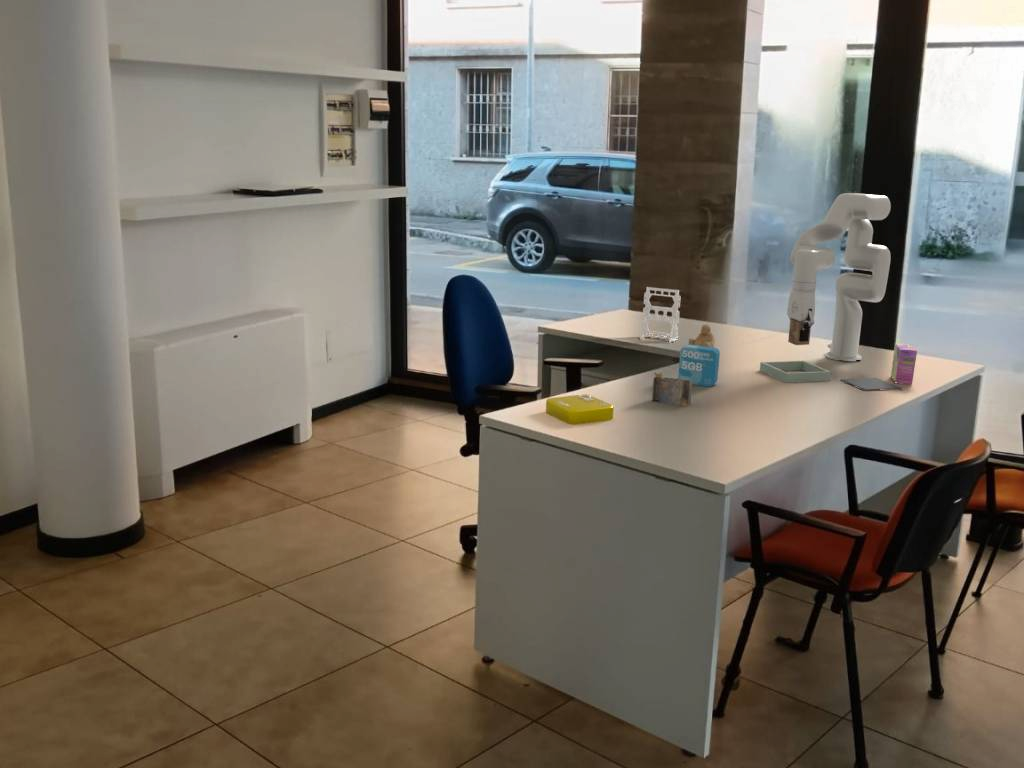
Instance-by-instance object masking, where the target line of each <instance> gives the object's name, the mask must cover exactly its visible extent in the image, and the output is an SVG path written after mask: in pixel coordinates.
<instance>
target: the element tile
mask: <svg viewBox="0 0 1024 768" xmlns="http://www.w3.org/2000/svg"><path fill="white" fill-rule="evenodd" d="M545 403H546V404H545V413H546V414H547V415H549V416H552V417H554V418H555V419H558V420H559V421H562V422H563V423H566V424H567V425H576V426H577V425H583V424H591V423H593V424H594V423H599V422H607V421H611V420H613V419H614V405H613V404H611V403H609V402H606V401H604V400H601V399H599V398H597V397H594V396H592V395H590V394H586V393H585V394H575V395H567V396H566V395H565V396H559V397H550V398H549V397H548V398H547V399H546V402H545Z"/></svg>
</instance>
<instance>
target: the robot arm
mask: <svg viewBox="0 0 1024 768" xmlns="http://www.w3.org/2000/svg"><path fill="white" fill-rule="evenodd" d="M891 207H892V205H891V201H890V198H889V197H888V196H886V195H880V194H868V193H867V194H866V193H857V192H856V193H853V192H852V193H851V192H845V193H841V194H838V196H837V197H835V200H834V201H833V203H832V205H831V207H830V208H829V210H828V212H827V213H826V215H825V217H824V219H823V220H822V221H820V222H819V223H817V224H815V225H813V226H812V227H810V228H808V229H807V230H805V231H804V232H803V233H802V234H801V235H800V236H799V237H798V239H797V241H796V242H795V244H794V246H793V247H792V251H791V253H790V262H791V263H792V264H793V277H792V287H791V290H790V294H789V298H788V303H787V312H786V316H787V317H788V318H789V320H790V319H794V320H797V321H800V322H801V329H802V330H800V337H799V341H800V342H804V341H808V339H809V330H810V329H811V328H812V326H813V325H814V324H815V313H816V312H815V311H816V287H817V277H818V271H824V270H829V269H830V268H831V267H832V266H833V265H834V264H835V260H836V255H835V252H834V251H833V250H832V249H831V248H829V247H826V246H825V247H823V246H816V245H817V244H821V243H825V242H829V241H833V240H837V239H840V238H841V237H843V236H844V235H845V234H846V232H847V238H846V244H845V252H844V261H843V262H844V265H845V266H846V267H847V268H848V269H849V268H850V269H853V270H860V271H867V272H872V273H871V274H867V273H866V274H865V273H859V272H844V273H843V272H842V273H841V274H840V275H838V277H837V278H836V280H835V285H834V286H835V311H834V320H833V321H834V322H833V329H832V338H831V343H830V344H827V348H828V349H829V351H827V352H826V353H825V356H826V357H827V358H828V359H830V360H835V361H839V360H844V361H843V362H857V361H856V360H860V361H862V359H863V358H862V357H863V356H862V355H861V354H859V345H860V338H861V337H860V336H861V330H862V329H861V328H862V327H861V326H862V320H863V309H862V307H861V304H860V302H859V301H861V302H869V303H880V302H881V301H882V300H883V298H884V297H885V294H886V290H887V284H888V279H889V272H890V265H891V261H892V260H891V257H892V256H891V251H890V250H889V247H887V246H886V245H881V244H875V243H874V244H873V243H872V242H873V235H874V228H873V225H872V223H871V221H883V220H884V219H886V218H887V217H888V216H889V214H890V212H891ZM870 220H871V221H870ZM847 230H848V231H847ZM805 319H806V321H804V320H805ZM805 322H807V323H806V324H805V325H804V323H805Z"/></svg>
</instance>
